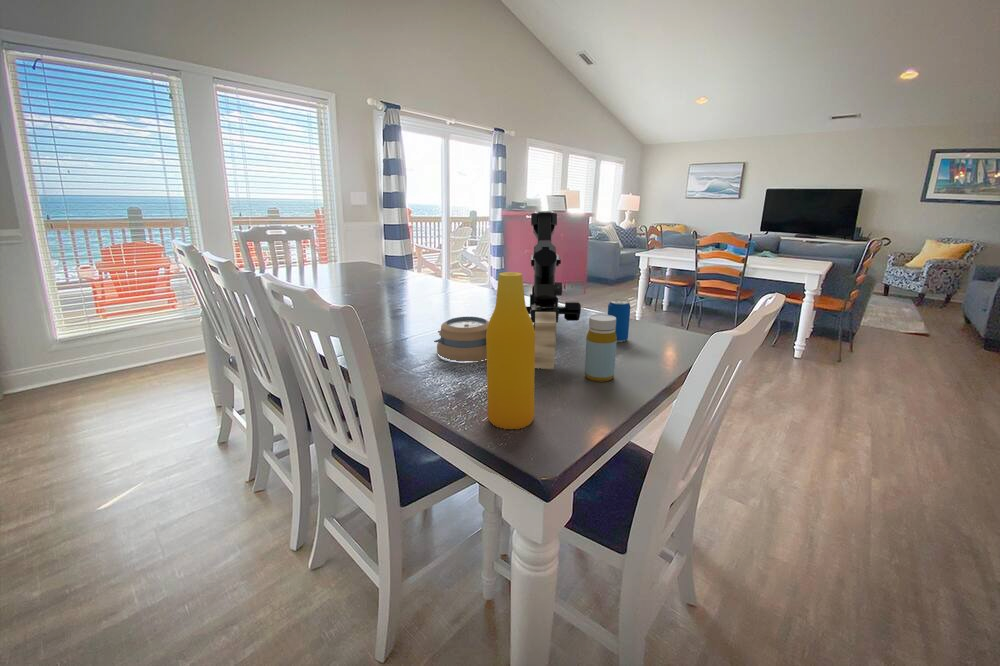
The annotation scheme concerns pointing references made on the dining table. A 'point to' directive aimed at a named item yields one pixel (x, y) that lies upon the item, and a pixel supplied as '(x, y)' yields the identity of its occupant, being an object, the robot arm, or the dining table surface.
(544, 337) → the block
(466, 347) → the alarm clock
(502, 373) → the beer bottle
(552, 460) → the dining table surface
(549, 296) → the robot arm
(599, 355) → the bottle
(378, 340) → the dining table surface
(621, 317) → the beverage can
